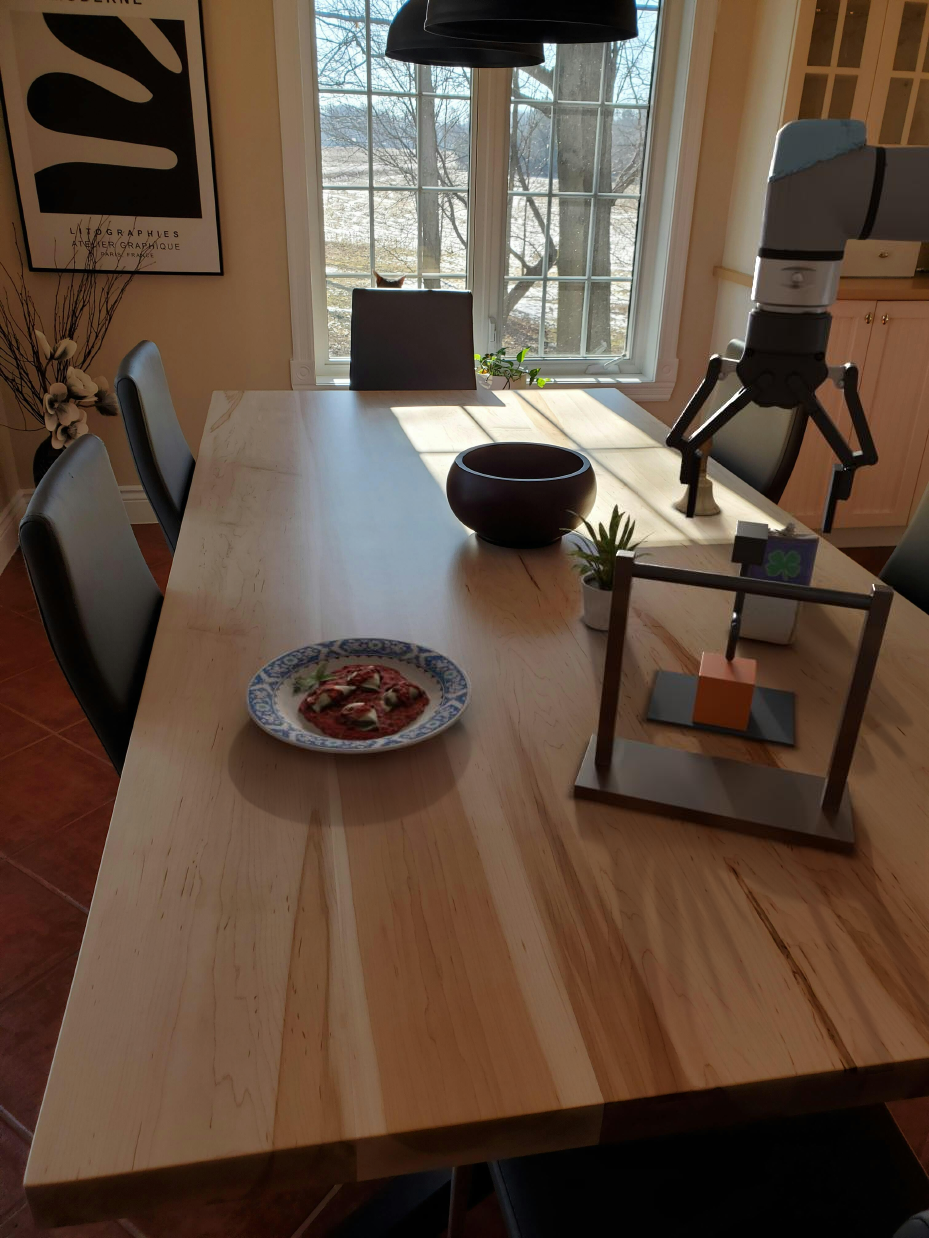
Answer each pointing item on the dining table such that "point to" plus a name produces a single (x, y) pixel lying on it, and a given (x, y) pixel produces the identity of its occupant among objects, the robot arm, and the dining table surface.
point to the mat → (764, 724)
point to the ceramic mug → (770, 619)
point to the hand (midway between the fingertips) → (756, 521)
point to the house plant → (601, 581)
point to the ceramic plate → (358, 695)
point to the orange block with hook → (732, 648)
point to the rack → (720, 784)
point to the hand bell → (702, 488)
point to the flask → (787, 557)
